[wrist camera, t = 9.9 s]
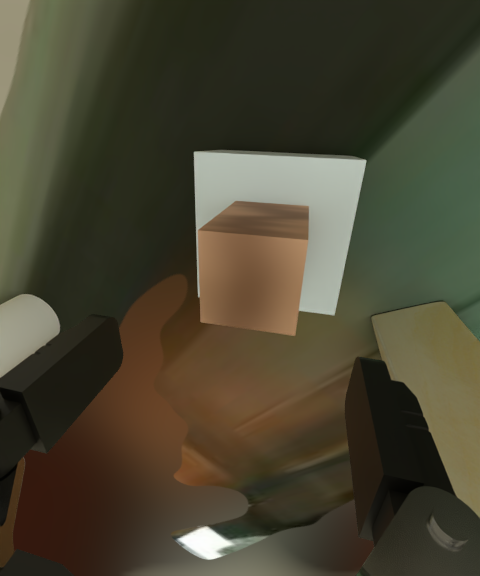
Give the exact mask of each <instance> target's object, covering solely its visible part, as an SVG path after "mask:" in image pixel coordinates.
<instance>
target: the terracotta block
mask: <svg viewBox="0 0 480 576" xmlns="http://www.w3.org/2000/svg"><path fill="white" fill-rule="evenodd" d="M308 231H309V206H303V205H288V204H274V203H260V202H246V201H235V202H234V203H232V204H231V205H230V206H228V207H227V208H226V209H225V210H223V211H222V212H221V213H219V214H218V215H217V216H215V217H214V218H213V219H212V220H210V221H209V222H208V223H206V224H205V225H204V226H203V227H201V228H200V229H199V230H198V254H199V286H200V318H201V322H203V323H210V324H217V325H224V326H230V327H237V328H244V329H251V330H258V331H265V332H272V333H279V334H285V335H292V336H295V334H296V326H297V319H298V312H299V305H300V297H301V290H302V283H303V275H304V268H305V261H306V254H307V246H308Z"/></svg>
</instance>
